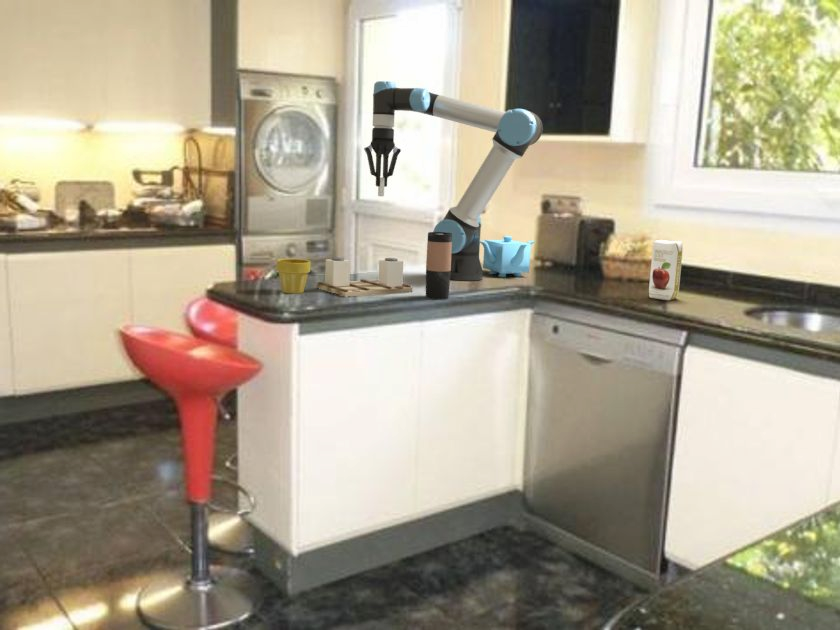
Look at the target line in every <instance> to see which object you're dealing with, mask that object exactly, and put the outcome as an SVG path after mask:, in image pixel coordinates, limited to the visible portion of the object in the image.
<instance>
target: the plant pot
mask: <svg viewBox="0 0 840 630" xmlns="http://www.w3.org/2000/svg"><path fill="white" fill-rule="evenodd" d="M276 271H277V272H278V276H279V281H280V286H281V292H283V293H285V294H303V293H304V292H305V288H306V283H307V279H308V275H309V273H310V272H311V260H309V259H302V258H279V259H277V260H276Z"/></svg>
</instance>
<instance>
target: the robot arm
mask: <svg viewBox="0 0 840 630" xmlns="http://www.w3.org/2000/svg"><path fill="white" fill-rule="evenodd" d="M372 100H373V101H372V102H373V103H372V127H373V128H372V129H371V130H372V131H371V134H372V135H371V141H370V144H369V145H368V146H366V147H364V148H363V149H364V152H365V154H366V156H367V160H368V167H369V171H370V175H371V176H374V178H375V186H376V187H377V188H378V191H377V196H378V197H385V188H387V187H388V178H390V177H392V176H393V175H394V171H395V167H396V164H397V160H398V156H399V154H400V153H401V152H402V151H401V150H402V149H401V148H398V147H397V146H396V143H395V142H394V140H395V139H394V137H395V130H394V127H395V111H405V112H415V113H419V114H424V115H428V116H432V117H436V118H440V119H444V120H447V121H451V122H455V123H459V124H463V125H466V126H470V127H474V128H477V129H481V130H485V131H489V132H492V133H495V134H494V135H493V137H492V144H493V145H492V147H491V149H490V151H489V152H488V154H487V156H485V159H484V160H483V161H482V164H481V165H480V167H479V169H477V172H476V174H475V175H474V177H473V179H472V180H471V182H470V183H469V185H468V187H467V188H466V190H465V191H464V193H463V195H462V196H461V198H460V199H459V201H458V203H457V205H456V206H453V207H449V209H448V211H447V212H446V214H445V216H444V217H443V219H441V220H440V221H439V222H438V223H437V224H436V225H435V226H434V228H433V231H432V232H446V233H452V250H451V273H450V280H452V281H453V280H454V281H469V282H470V281H479V280H483V279H484V278H483V277H484V272H483V266H482V264H481V259H480V248H481V247H480V246H481V245H480V244H481V243H480V241H481V231H482V230H481V229H482V218H481V215H482V213H483V212H484V211H485V209H486V206H487V205H488V204H489V202H490V200H491V199H492V197H493V196H494V194H495V192H496V191H497V189H498V187H499V186H500V184H501V183H502V181H503V180H504V178H505V177H506V175H507V173H508V172H509V170H510V169H511V166H513V163H515V160H517V159H521V158H523V157H524V155H525V154H526V152H527V150H528V149H529V147H530V146H533V145H534V144H535V143H537V142H538V141H539V140H540V138H541V137H542V134H543V130H544V127H543V123H542V120H541V119H540V117H539V116H538V115H537V114H535V113H534V112H533V111H529V110H527V109H525V108H524V109H523V108H513V109H508V110H507V111H504V110H500V109H497V108H496V109H495V108H493V107H488V106H485V105H480V104H477V103H472V102H469V101H464V100H460V99H456V98H454V97H453V98H452V97H449V96H444V95H440V94H436V93H434V92H430V91H429V90H428V89H426V88H421V87H413V88H412V87H410V88H409V87H406V88H405V87H400V88H399V87H397V86H396V83H395V82H394V81H386V80H382V81H376V82H375V83H374V86H373V94H372ZM372 151H373V152H374V154H375V164H374V159H373V154H372V153H373V152H372ZM391 152H393V153H392V155H391V160H390V162H389V155H390V153H391ZM382 158H383V159H382ZM382 160H383V161H382ZM381 171H382V173H381ZM381 174H382V177H381Z"/></svg>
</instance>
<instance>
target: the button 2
mask: <svg viewBox="0 0 840 630" xmlns="http://www.w3.org/2000/svg"><path fill="white" fill-rule="evenodd" d="M403 273H404V260H400V259H398V258H395V257H385V258H384V259H379V260H378V278H377V280H378V283H379V284H382V285H386V286H390V287H393V286H402V284H404V281H403V279H404V277H403V276H404V274H403Z"/></svg>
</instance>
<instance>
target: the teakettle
mask: <svg viewBox="0 0 840 630" xmlns="http://www.w3.org/2000/svg"><path fill="white" fill-rule="evenodd" d="M536 242H537V240H529V241H527V242H523V241H519V240H513V236H511V235H509V236H508V235H504V236H502V239H484V241H482V240H480V244H481V245H482V246H483V265H482V269H485V270H489V273H488V275H492V274H495V275H497V273H498V275H497V276H498V278H507V275H514V277H516V278H522V277H523V275H522V274H525V273H527V274H528V273H530V264H531V263H530V261H531V247H532V245H533V243H536Z"/></svg>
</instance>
